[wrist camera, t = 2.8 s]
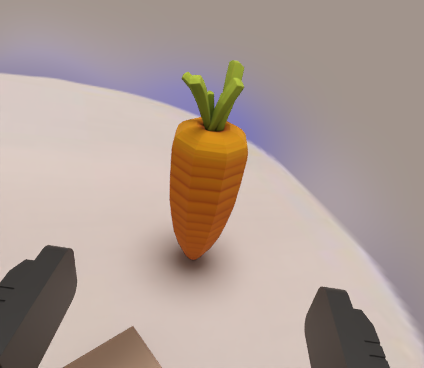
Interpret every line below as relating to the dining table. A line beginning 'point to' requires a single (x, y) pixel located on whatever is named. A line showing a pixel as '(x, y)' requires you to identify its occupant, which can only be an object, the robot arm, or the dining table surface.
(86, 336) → the dining table surface
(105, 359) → the walnut board
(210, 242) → the carrot
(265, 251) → the dining table surface
